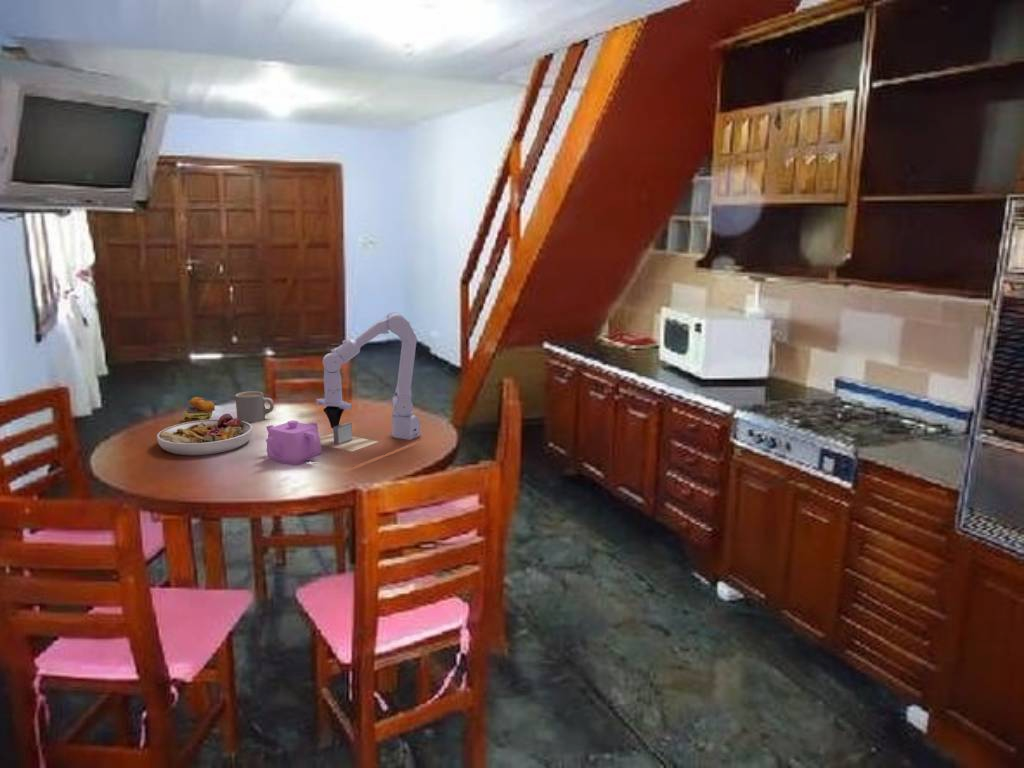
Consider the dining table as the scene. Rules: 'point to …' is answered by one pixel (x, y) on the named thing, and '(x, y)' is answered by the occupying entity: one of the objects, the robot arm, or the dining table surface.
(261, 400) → the coffee mug
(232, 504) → the dining table surface
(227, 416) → the bowl
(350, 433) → the tile
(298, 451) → the teakettle
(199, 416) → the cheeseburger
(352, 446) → the board
